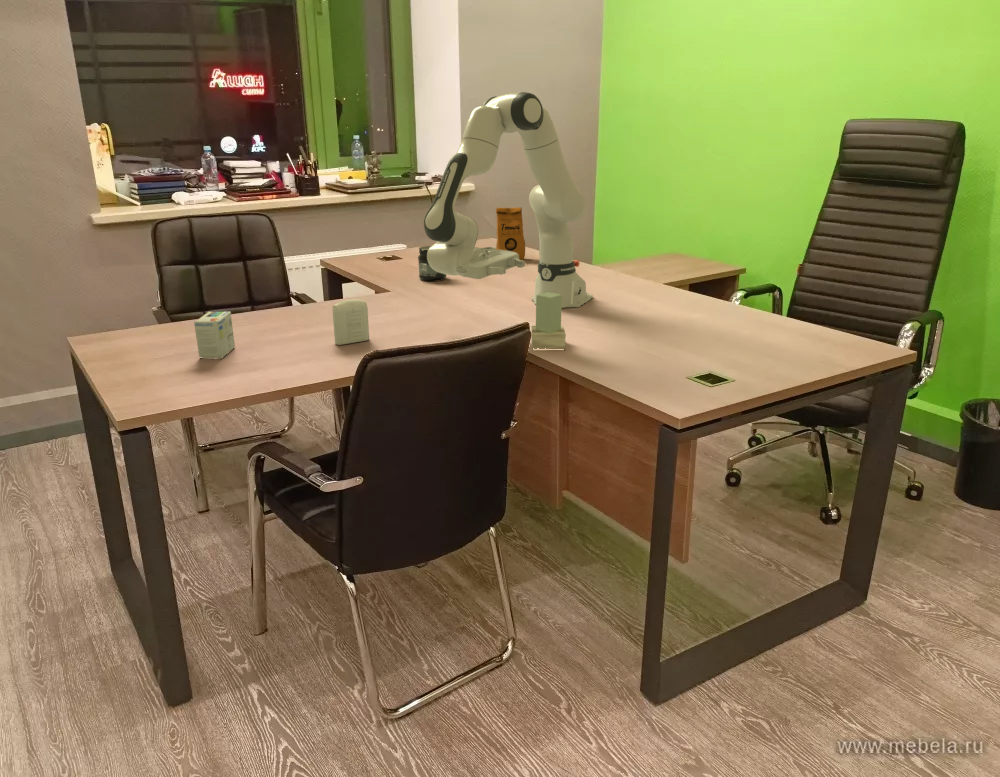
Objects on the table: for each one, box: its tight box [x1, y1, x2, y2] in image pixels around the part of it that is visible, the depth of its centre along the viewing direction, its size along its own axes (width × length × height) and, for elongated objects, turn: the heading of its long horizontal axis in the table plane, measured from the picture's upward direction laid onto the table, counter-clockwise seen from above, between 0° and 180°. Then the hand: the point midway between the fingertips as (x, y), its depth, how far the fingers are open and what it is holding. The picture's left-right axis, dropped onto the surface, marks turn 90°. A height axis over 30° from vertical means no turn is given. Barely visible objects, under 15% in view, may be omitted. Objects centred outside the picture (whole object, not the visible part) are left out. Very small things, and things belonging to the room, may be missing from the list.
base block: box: [531, 324, 567, 350], centre depth 228 cm, size 9×9×5 cm
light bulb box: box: [193, 310, 236, 358], centre depth 224 cm, size 11×7×11 cm, turn 178°
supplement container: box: [417, 245, 447, 282], centre depth 309 cm, size 10×10×12 cm
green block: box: [535, 292, 563, 333], centre depth 226 cm, size 5×5×10 cm
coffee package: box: [495, 207, 526, 261], centre depth 340 cm, size 10×12×22 cm
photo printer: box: [332, 298, 370, 346], centre depth 233 cm, size 10×4×12 cm, turn 123°
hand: (514, 267), depth 229 cm, fingers open, 8 cm apart
